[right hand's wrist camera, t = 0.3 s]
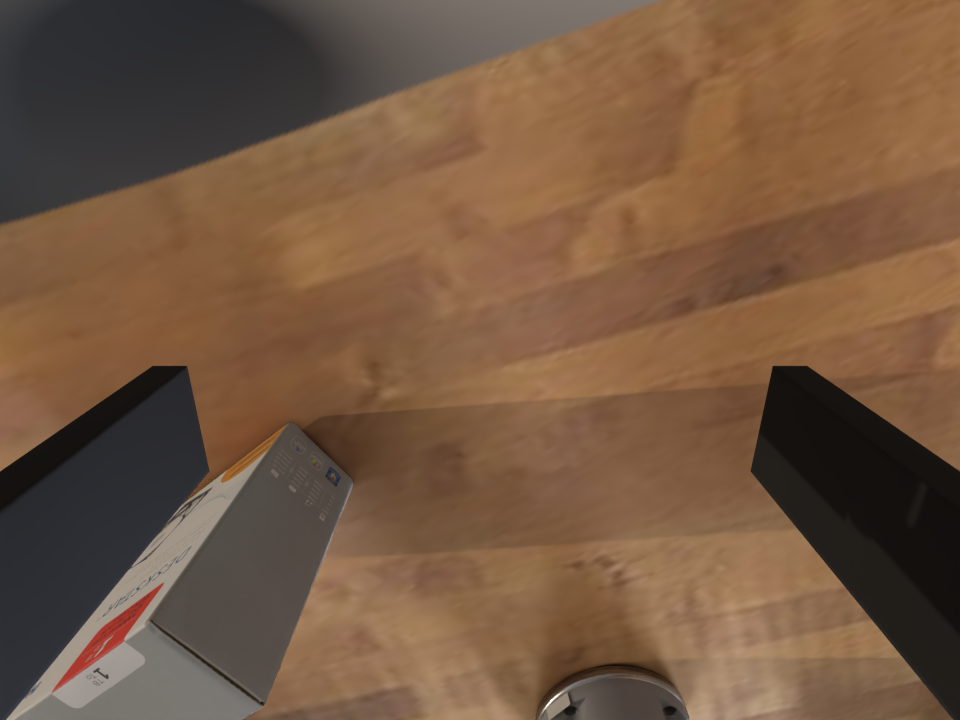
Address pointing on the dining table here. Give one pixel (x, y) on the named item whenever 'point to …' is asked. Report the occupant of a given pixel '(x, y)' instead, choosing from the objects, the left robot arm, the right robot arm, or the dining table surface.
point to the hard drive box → (206, 598)
